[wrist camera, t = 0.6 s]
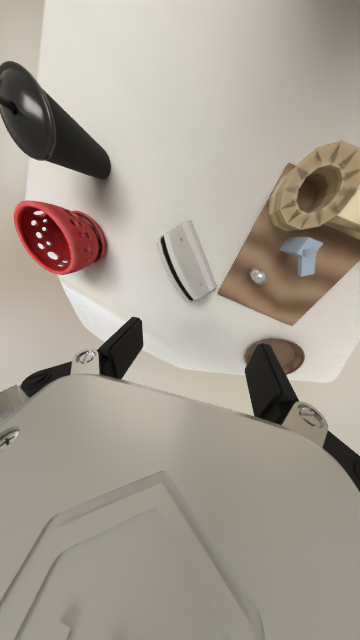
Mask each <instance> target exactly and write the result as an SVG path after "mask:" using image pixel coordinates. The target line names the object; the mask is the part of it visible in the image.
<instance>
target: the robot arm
mask: <svg viewBox="0 0 360 640" xmlns="http://www.w3.org/2000/svg"><path fill="white" fill-rule="evenodd" d="M142 347H143V332H142V321H141V320H140V318H136V317H132V318H131V319H130V320H128V321H127V322H126V323H125V324H124V325H123V326H122V327H121V328H120V329H119V330H118V331H117V332H116V333H115V334H114V335H112V336H111V337H110V338H109V339H108V340H107V341H106V342H105V343H104V344H103V345H102V346H101V347H100V348H99V349H98V350H97V351H96V350H94V349H87V350H84V351H81V352H79V353H78V354H76V355H75V356H74V358H73V361H71V362H68V363H65V364H61V365H58V366H55V367H51V368H48V369H44V370H41V371H38V372H35V373H33V374H32V375H30V376H29V377H27V378H26V379H25V380H24V381H23V382H22V384H21V385H20V386H17V385H15V386H13V387H10V388H8V389H6V390H4V391H2V392H0V640H360V456H359V455H358V454H356V453H355V452H354V451H353V450H351V449H350V448H349V447H348V446H347V445H345V444H344V443H343V442H342V441H340V440H339V439H338V438H337V437H336V436H334V435H333V434H332V433H331V432H329V431H328V424H327V421H326V420H325V418H324V417H323V415H322V414H321V413H320V412H319V411H318V410H316V409H315V408H314V407H312V406H311V405H309V404H307V403H305V402H300V401H299V400H298V398H297V396H296V394H295V392H294V390H293V388H292V386H291V384H290V383H289V380H288V378H287V376H286V374H285V372H284V370H283V368H282V367H281V365H280V363H279V361H278V359H277V357H276V355H275V353H274V351H273V349H272V347H271V346H270V345H269V344H264V343H261V344H260V345H259V344H258V345H257V346H256V348H255V350H254V352H253V354H252V356H251V358H250V360H249V362H248V364H247V366H246V368H245V375H246V379H247V383H248V389H249V393H250V398H251V403H252V407H253V412H254V416H255V417H254V416H251V415H248V414H244V413H241V412H237V411H234V410H230V409H227V408H223V407H219V406H216V405H213V404H209V403H205V402H202V401H198V400H195V399H191V398H187V397H184V396H180V395H176V394H173V393H169V392H166V391H162V390H159V389H155V388H151V387H147V386H144V385H140V384H136V383H133V382H129V381H125V380H121V379H122V377H123V376H124V374H125V373H126V371H127V370H128V368H129V367H130V365H131V364H132V362H133V361H134V359H135V358H136V357H137V355H138V354H139V352H140V351H141V349H142Z"/></svg>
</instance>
